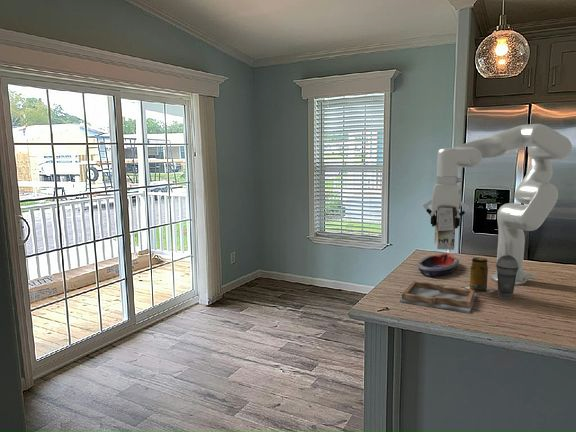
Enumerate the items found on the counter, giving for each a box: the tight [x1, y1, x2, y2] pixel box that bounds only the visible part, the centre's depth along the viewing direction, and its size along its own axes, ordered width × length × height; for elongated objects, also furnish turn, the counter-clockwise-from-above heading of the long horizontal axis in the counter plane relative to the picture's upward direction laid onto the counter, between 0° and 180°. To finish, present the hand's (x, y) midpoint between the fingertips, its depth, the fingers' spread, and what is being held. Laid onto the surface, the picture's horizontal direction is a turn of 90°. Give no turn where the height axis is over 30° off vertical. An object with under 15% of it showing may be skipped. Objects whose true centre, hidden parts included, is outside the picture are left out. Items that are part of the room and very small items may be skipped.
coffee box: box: [434, 207, 456, 251], centre depth 165 cm, size 9×6×16 cm
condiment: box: [463, 257, 495, 295], centre depth 164 cm, size 7×8×12 cm
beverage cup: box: [495, 243, 519, 300], centre depth 155 cm, size 7×7×20 cm
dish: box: [416, 253, 460, 277], centre depth 193 cm, size 16×31×5 cm, turn 141°
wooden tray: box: [399, 280, 477, 314], centre depth 155 cm, size 23×19×3 cm
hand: (444, 226), depth 165 cm, fingers closed on coffee box, 7 cm apart
